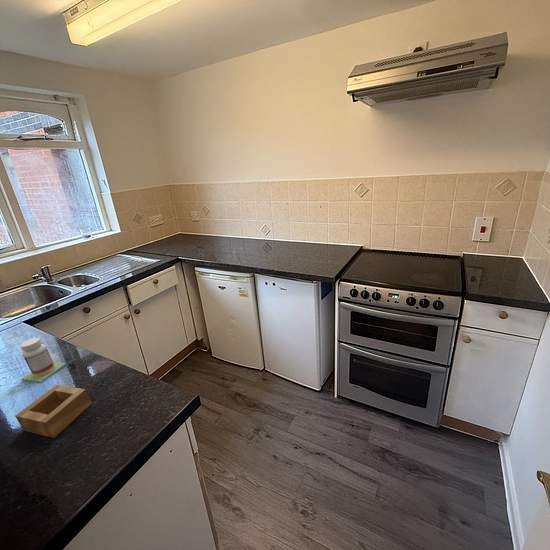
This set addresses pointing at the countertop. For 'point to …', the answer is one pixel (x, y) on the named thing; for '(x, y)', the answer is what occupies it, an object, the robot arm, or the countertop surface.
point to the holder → (54, 410)
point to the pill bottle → (37, 357)
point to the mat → (41, 378)
